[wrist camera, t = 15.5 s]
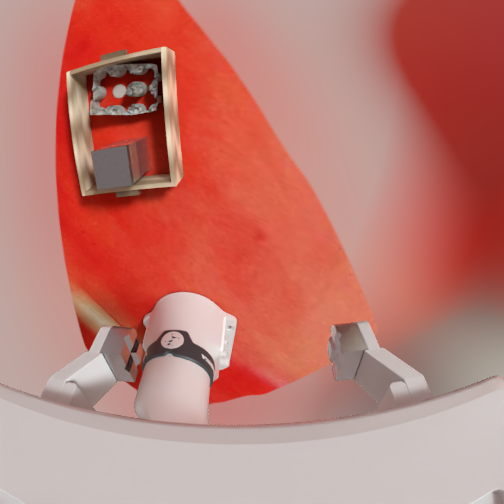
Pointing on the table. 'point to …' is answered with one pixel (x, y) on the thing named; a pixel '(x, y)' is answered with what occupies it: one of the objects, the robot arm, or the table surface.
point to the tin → (121, 163)
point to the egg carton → (124, 89)
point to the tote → (83, 126)
